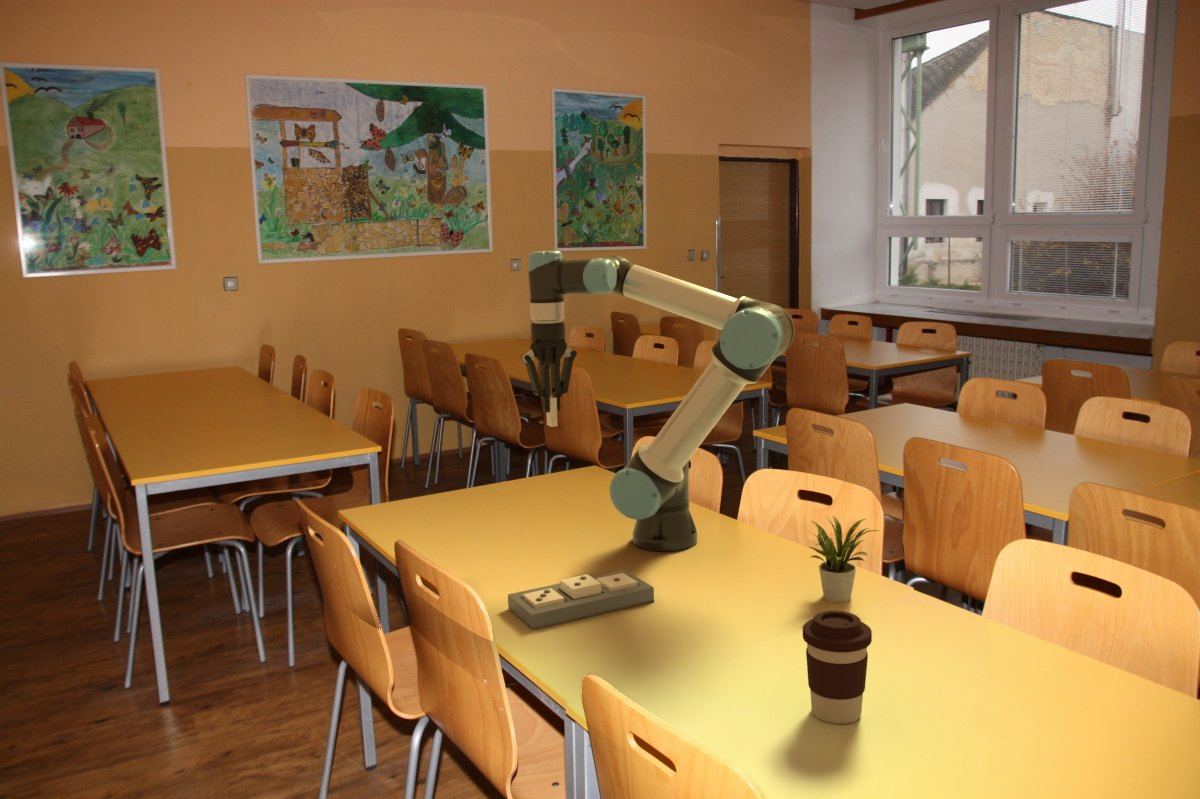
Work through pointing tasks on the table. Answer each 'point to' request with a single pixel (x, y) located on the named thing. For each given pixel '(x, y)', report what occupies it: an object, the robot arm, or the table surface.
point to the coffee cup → (836, 664)
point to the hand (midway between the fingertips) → (552, 425)
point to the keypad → (580, 603)
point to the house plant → (838, 561)
